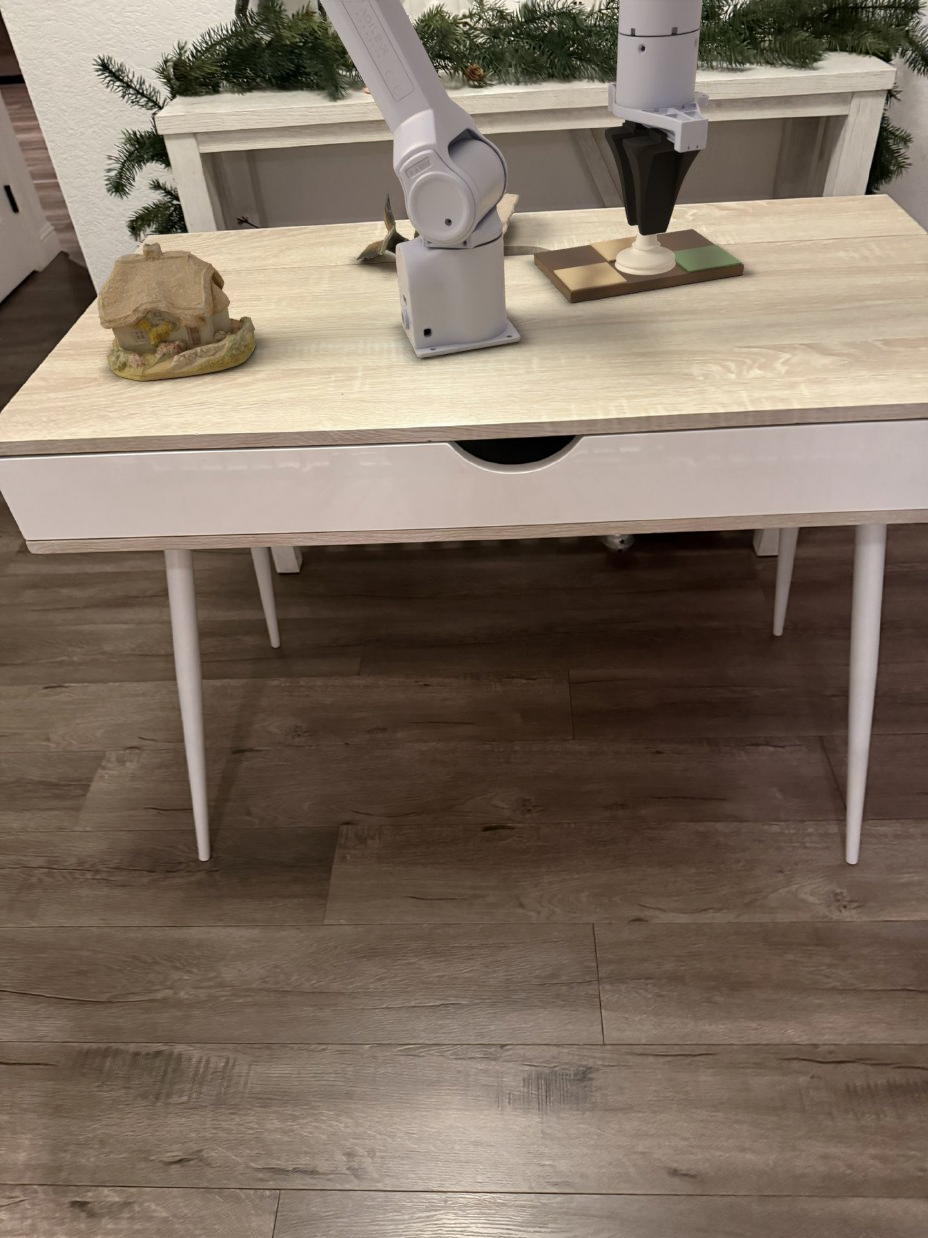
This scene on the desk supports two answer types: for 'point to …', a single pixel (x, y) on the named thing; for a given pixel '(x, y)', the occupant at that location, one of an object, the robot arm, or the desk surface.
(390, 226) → the brown pointed piece
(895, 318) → the desk surface
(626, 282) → the board
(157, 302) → the ceramic model
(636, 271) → the chess piece
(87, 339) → the desk surface
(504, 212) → the stone tool
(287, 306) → the desk surface
